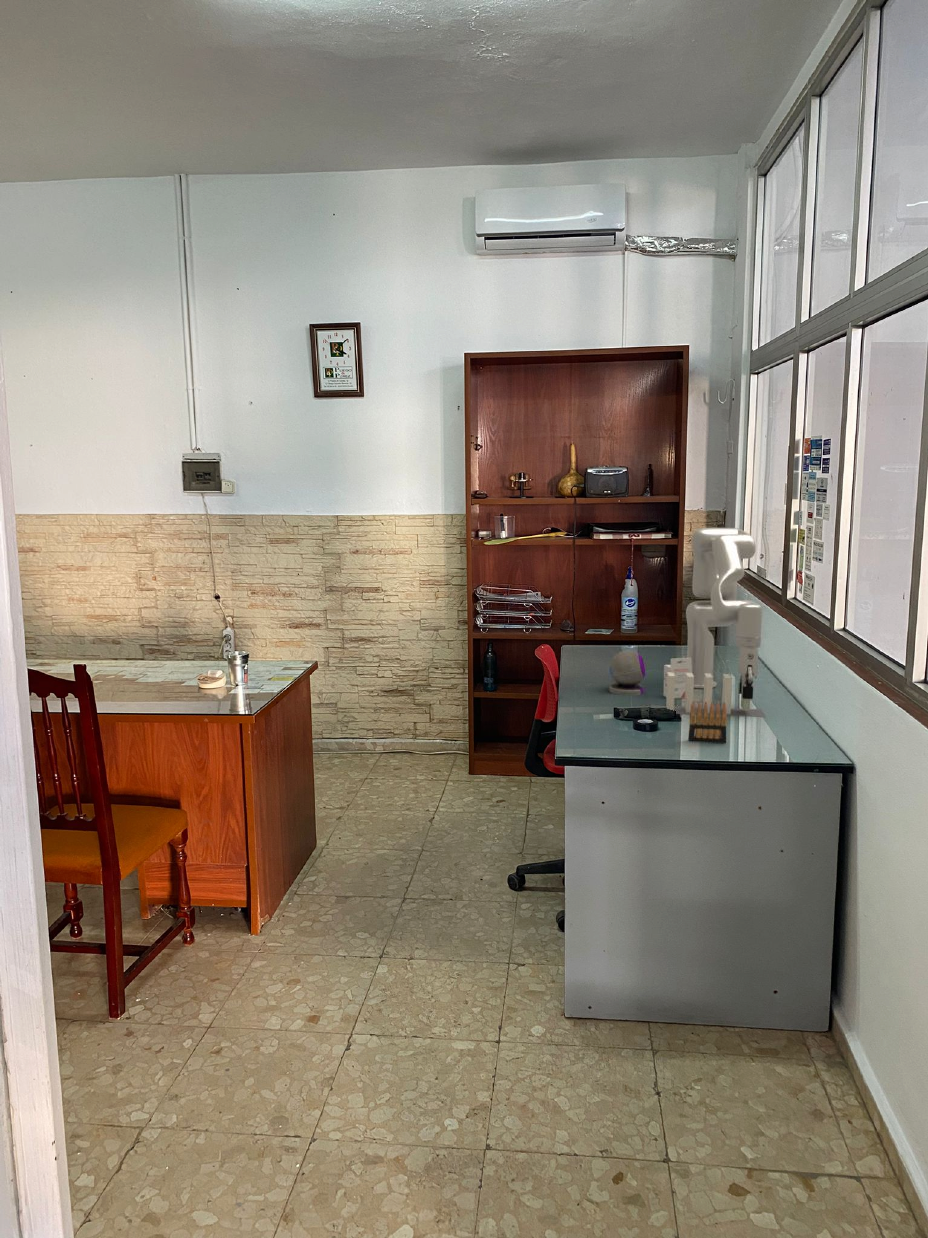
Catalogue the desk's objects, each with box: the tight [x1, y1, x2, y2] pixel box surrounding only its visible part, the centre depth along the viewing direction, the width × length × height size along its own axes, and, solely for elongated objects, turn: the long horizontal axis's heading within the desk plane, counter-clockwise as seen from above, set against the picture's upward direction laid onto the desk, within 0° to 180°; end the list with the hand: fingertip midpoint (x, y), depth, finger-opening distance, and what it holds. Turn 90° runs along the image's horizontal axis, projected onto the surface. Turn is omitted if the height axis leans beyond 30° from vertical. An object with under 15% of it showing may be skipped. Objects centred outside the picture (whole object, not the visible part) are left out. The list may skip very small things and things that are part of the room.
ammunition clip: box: [688, 700, 728, 744], centre depth 265 cm, size 11×2×12 cm, turn 80°
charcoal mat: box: [650, 705, 767, 718], centre depth 299 cm, size 10×36×1 cm, turn 82°
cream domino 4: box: [721, 673, 733, 714], centre depth 297 cm, size 2×6×12 cm, turn 172°
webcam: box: [608, 649, 647, 696], centre depth 328 cm, size 13×13×15 cm
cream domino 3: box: [702, 673, 714, 713], centre depth 298 cm, size 2×6×12 cm, turn 172°
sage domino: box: [740, 675, 751, 710], centre depth 296 cm, size 2×6×12 cm, turn 172°
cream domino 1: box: [665, 672, 675, 711], centre depth 299 cm, size 2×6×12 cm, turn 172°
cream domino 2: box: [684, 673, 695, 713], centre depth 298 cm, size 2×6×12 cm, turn 172°
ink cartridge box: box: [662, 657, 692, 699], centre depth 318 cm, size 9×5×15 cm, turn 105°
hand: (745, 695), depth 296 cm, fingers closed on sage domino, 5 cm apart
